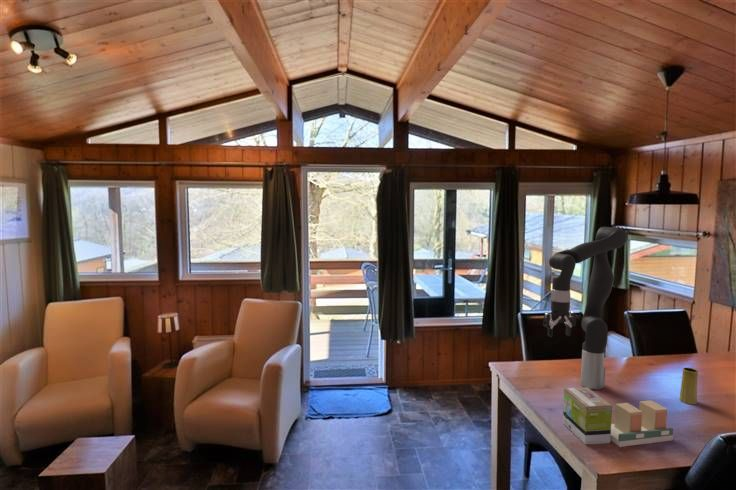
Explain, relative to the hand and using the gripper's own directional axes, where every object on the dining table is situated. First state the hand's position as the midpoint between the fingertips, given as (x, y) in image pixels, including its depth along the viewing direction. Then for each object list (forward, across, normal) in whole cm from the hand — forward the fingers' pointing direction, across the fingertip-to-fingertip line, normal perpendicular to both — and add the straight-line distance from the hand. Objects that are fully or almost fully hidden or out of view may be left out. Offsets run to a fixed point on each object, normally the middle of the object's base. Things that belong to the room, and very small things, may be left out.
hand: (559, 336), depth 183 cm
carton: (+26, -6, +33) cm, 42 cm away
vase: (+28, -54, +14) cm, 63 cm away
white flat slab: (+28, -9, +33) cm, 44 cm away
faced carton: (+26, -16, +33) cm, 45 cm away
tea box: (+28, +8, +28) cm, 41 cm away
